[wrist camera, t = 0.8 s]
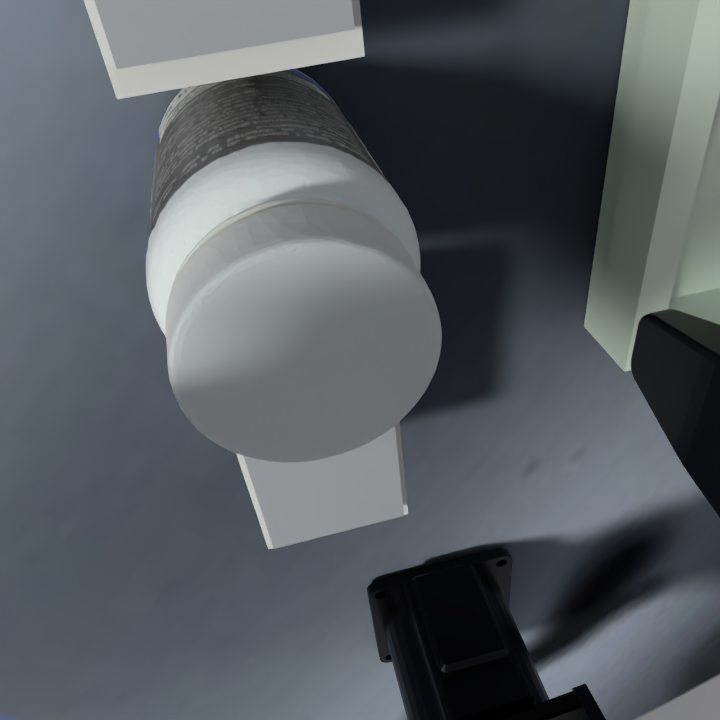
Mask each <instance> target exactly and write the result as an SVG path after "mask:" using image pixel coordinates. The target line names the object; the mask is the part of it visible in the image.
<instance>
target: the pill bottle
mask: <svg viewBox="0 0 720 720" xmlns="http://www.w3.org/2000/svg"><path fill="white" fill-rule="evenodd" d="M146 280H147V290H148V295H149V299H150V303H151V306H152V310H153V313H154V315H155V318H156V320H157V322H158V324H159V326H160V328H161V330H162V331H163V333H164V334H165V336H166V340H167V363H168V373H169V379H170V383H171V386H172V389H173V393H174V396H175V398H176V400H177V402H178V404H179V406H180V407H181V409H182V411H183V412H184V414H185V415H186V417H187V418H188V419H189V420H190V422H191V423H192V424H193V425H194V426H195V427H196V428H197V429H198V430H199V431H200V432H201V433H202V434H203V435H204V436H205V437H207V438H208V439H210V440H211V441H213V442H215V443H216V444H218V445H220V446H221V447H223V448H225V449H227V450H230V451H232V452H234V453H237V454H240V455H243V456H247V457H251V458H255V459H259V460H265V461H271V462H285V463H287V462H307V461H315V460H320V459H324V458H328V457H332V456H336V455H339V454H342V453H346V452H348V451H351V450H353V449H356V448H359V447H361V446H363V445H365V444H367V443H369V442H371V441H373V440H374V439H376V438H378V437H379V436H381V435H382V434H384V433H386V432H387V431H388V430H390V429H391V428H392V427H393V426H395V425H396V424H397V423H399V422H400V421H401V420H402V419H403V418H404V417H405V416H406V415H407V414H408V412H409V411H410V410H411V409H412V408H413V407H414V406H415V405H416V403H417V402H418V401H419V399H420V398H421V397H422V395H423V394H424V392H425V391H426V389H427V387H428V385H429V383H430V382H431V380H432V378H433V376H434V373H435V371H436V368H437V364H438V361H439V356H440V351H441V342H442V330H441V322H440V317H439V313H438V309H437V306H436V303H435V301H434V298H433V295H432V293H431V291H430V290H429V288H428V286H427V284H426V282H425V281H424V279H423V277H422V275H421V274H420V250H419V244H418V239H417V234H416V229H415V227H414V224H413V222H412V219H411V217H410V215H409V212H408V210H407V208H406V207H405V205H404V204H403V202H402V201H401V200H400V198H399V196H398V195H397V193H396V192H395V190H394V189H393V187H392V186H391V185H390V183H389V182H388V180H387V179H386V178H385V176H384V175H383V173H382V172H381V170H380V169H379V167H378V166H377V164H376V163H375V161H374V160H373V158H372V156H371V155H370V153H369V152H368V150H367V149H366V147H365V146H364V144H363V143H362V141H361V140H360V138H359V137H358V135H357V134H356V132H355V131H354V129H353V128H352V126H351V125H350V124H349V122H348V121H347V120H346V118H345V117H344V115H343V114H342V112H341V111H340V109H339V108H338V107H337V105H336V104H335V102H334V100H333V99H332V98H331V97H330V96H329V94H328V93H327V92H326V91H325V90H324V89H323V88H322V87H321V86H320V85H319V84H318V83H317V82H315V81H314V80H313V79H311V78H310V77H309V76H307V75H305V74H304V73H302V72H300V71H298V70H296V69H289V70H284V71H278V72H272V73H266V74H260V75H255V76H249V77H243V78H237V79H231V80H226V81H220V82H214V83H208V84H203V85H197V86H191V87H185V88H183V89H182V90H181V91H180V92H179V93H178V94H177V95H176V97H175V98H174V99H173V101H172V102H171V104H170V105H169V107H168V109H167V111H166V113H165V115H164V117H163V119H162V122H161V125H160V128H159V132H158V135H157V141H156V147H155V160H154V170H153V185H152V192H151V209H150V222H149V229H148V241H147V247H146Z"/></svg>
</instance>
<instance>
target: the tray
mask: <svg viewBox="0 0 720 720" xmlns="http://www.w3.org/2000/svg"><path fill="white" fill-rule="evenodd" d="M666 309H675V310H679V311H681V312H684V313H687V314H690V315H693V316H696V317H699V318H702V319H705V320H708V321H711V322H714V323H717V324H720V0H630V5H629V12H628V19H627V26H626V33H625V40H624V47H623V54H622V61H621V68H620V75H619V82H618V89H617V96H616V104H615V111H614V118H613V125H612V132H611V139H610V146H609V153H608V160H607V167H606V174H605V181H604V188H603V195H602V202H601V209H600V216H599V223H598V230H597V237H596V244H595V251H594V258H593V265H592V272H591V280H590V287H589V294H588V301H587V308H586V315H585V322H584V327H585V328H586V329H587V330H588V331H589V333H590V334H591V335H592V336H593V337H594V338H595V339H596V340H597V342H598V343H599V344H600V345H601V346H602V347H603V348H604V349H605V351H606V352H607V353H608V354H609V355H610V356H611V357H612V358H613V360H614V361H615V362H616V363H617V364H618V365H619V366H620V367H621V368H622V370H623V371H624V372H625V371H629V370H631V357H632V352H633V348H634V343H635V338H636V333H637V328H638V324H639V321H640V319H641V318H642V317H643V316H644V315H646V314H649V313H653V312H657V311H662V310H666Z"/></svg>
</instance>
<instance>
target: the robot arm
mask: <svg viewBox="0 0 720 720" xmlns="http://www.w3.org/2000/svg"><path fill="white" fill-rule="evenodd" d="M631 370H632V374H633V377H634V379H635V381H636V383H637V384H638V386H639V388H640V390H641V392H642V393H643V395H644V397H645V399H646V400H647V402H648V404H649V406H650V408H651V409H652V411H653V413H654V415H655V417H656V418H657V420H658V422H659V424H660V426H661V427H662V429H663V431H664V433H665V435H666V436H667V438H668V440H669V442H670V443H671V445H672V447H673V449H674V451H675V452H676V454H677V456H678V457H679V459H680V461H681V462H682V464H683V466H684V467H685V469H686V470H687V472H688V473H689V475H690V476H691V478H692V479H693V480H694V482H695V483H696V485H697V486H698V488H699V489H700V490H701V492H702V493H703V495H704V496H705V497H706V499H707V500H708V502H709V503H710V504H711V506H712V507H713V509H714V510H715V511H716V513H717V514H718V516H719V517H720V324H717V323H714V322H711V321H708V320H705V319H702V318H699V317H696V316H693V315H690V314H687V313H684V312H681V311H679V310H675V309H666V310H662V311H657V312H653V313H649V314H646V315H644V316H643V317H642V318H641V319H640V321H639V324H638V328H637V333H636V338H635V343H634V348H633V352H632V357H631ZM511 570H512V558H511V556H510V554H509V552H508V550H507V549H503V548H502V549H497V550H493V551H489V552H485V553H481V554H478V555H474V556H470V557H466V558H462V559H459V560H455V561H451V562H447V563H443V564H440V565H436V566H432V567H428V568H425V569H421V570H417V571H413V572H409V573H406V574H402V575H398V576H394V577H390V578H387V579H383V580H379V581H376V582H373V583H372V584H370V585H369V586H368V588H367V593H368V598H369V604H370V609H371V615H372V620H373V625H374V631H375V636H376V642H377V647H378V653H379V657H380V660H381V661H382V662H386V663H387V662H393V666H394V670H395V673H396V677H397V681H398V685H399V688H400V692H401V696H402V700H403V703H404V707H405V711H406V715H407V718H408V720H606V719H605V717H604V716H603V714H602V712H601V710H600V708H599V707H598V705H597V703H596V701H595V700H594V698H593V696H592V694H591V692H590V691H589V689H588V687H587V685H586V684H583V685H580V686H577V687H575V688H572V690H573V691H571V692H569V693H566V694H563V695H561V696H558V697H555V698H553V699H550V700H549V697H548V695H547V693H546V691H545V689H544V686H543V684H542V682H541V680H540V677H539V675H538V673H537V671H536V668H535V666H534V664H533V662H532V659H531V657H530V655H529V653H528V650H527V648H526V646H525V644H524V641H523V639H522V637H521V635H520V632H519V630H518V628H517V626H516V623H515V621H514V619H513V617H512V614H511V612H510V610H509V597H510V583H511Z"/></svg>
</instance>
